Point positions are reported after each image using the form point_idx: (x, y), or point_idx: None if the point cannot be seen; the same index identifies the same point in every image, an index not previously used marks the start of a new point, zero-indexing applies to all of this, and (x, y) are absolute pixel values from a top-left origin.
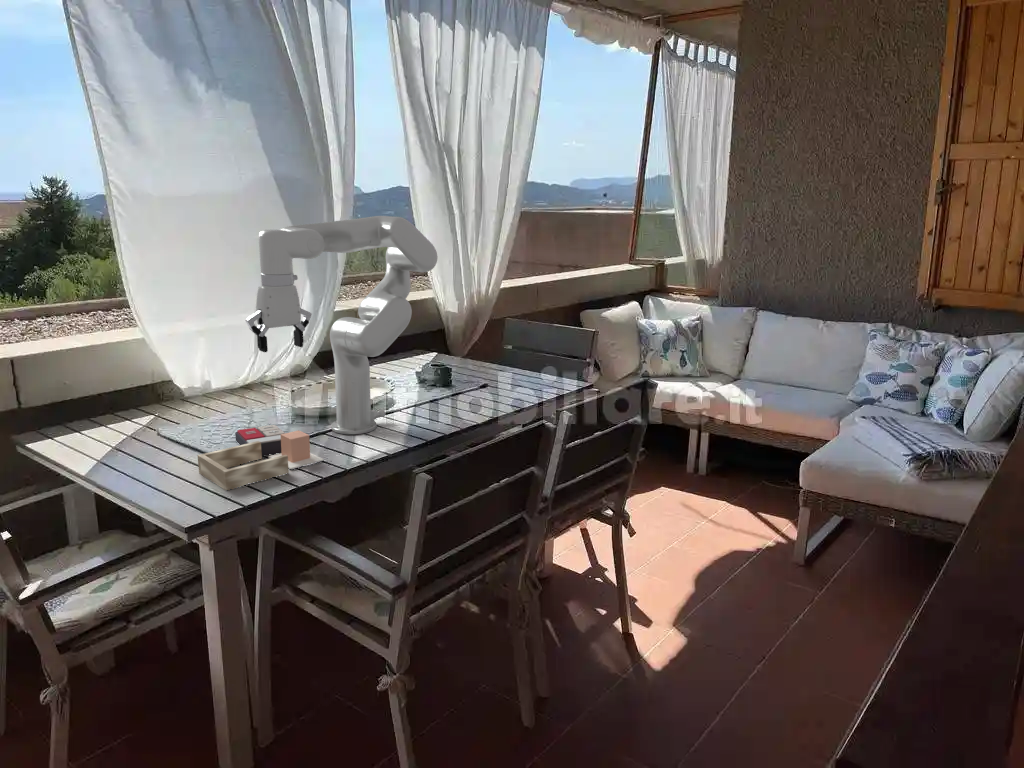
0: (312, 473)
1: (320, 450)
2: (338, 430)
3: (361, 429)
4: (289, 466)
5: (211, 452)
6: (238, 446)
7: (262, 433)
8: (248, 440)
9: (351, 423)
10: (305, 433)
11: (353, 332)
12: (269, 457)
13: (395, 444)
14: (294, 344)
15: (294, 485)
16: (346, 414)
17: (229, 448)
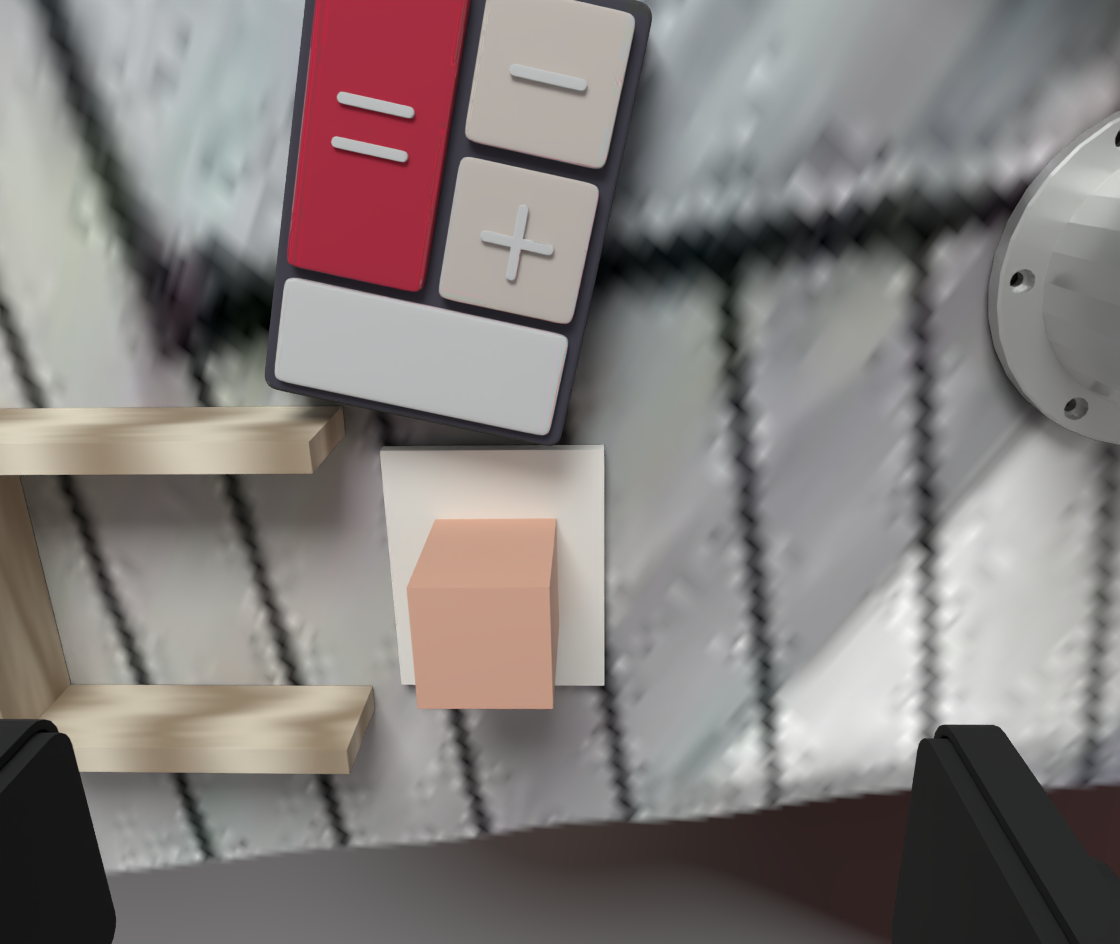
0: (473, 768)
1: (693, 520)
2: (997, 323)
3: (1113, 427)
4: (406, 661)
5: None
6: (159, 459)
7: (463, 153)
8: (293, 298)
9: (1096, 389)
10: (550, 669)
11: None
12: (382, 461)
13: (1076, 705)
14: (924, 750)
15: (337, 830)
16: (1115, 381)
17: (98, 457)
